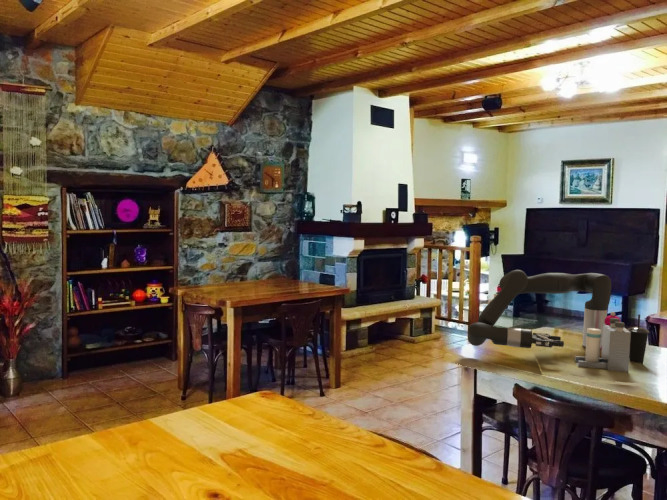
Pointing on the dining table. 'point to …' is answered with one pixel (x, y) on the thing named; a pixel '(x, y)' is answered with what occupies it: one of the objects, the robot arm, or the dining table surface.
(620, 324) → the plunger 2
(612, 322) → the plunger
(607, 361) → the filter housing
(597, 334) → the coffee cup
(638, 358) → the drinking cup
